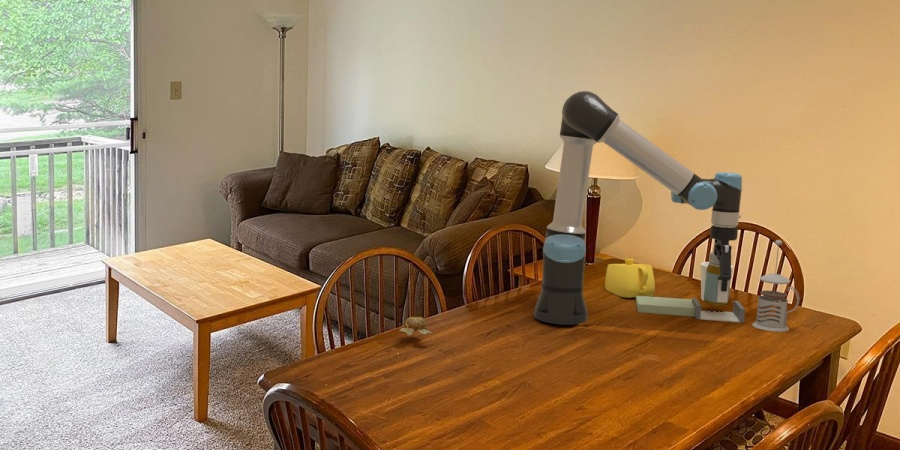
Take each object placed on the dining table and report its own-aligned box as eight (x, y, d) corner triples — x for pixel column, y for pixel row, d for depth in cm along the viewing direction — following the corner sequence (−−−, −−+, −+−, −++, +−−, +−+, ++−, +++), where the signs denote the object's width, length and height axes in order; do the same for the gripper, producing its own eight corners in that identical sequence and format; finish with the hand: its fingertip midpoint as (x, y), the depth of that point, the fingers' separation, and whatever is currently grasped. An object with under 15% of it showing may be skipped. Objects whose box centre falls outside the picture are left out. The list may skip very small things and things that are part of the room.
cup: (736, 306, 249) (740, 266, 247) (716, 309, 243) (720, 268, 241) (710, 299, 257) (713, 260, 255) (690, 302, 251) (693, 263, 249)
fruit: (400, 335, 200) (400, 320, 199) (398, 328, 208) (399, 314, 207) (432, 335, 200) (433, 320, 200) (430, 328, 209) (430, 314, 208)
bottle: (729, 307, 233) (734, 258, 230) (704, 305, 235) (709, 256, 231) (725, 300, 240) (731, 252, 237) (702, 298, 241) (706, 251, 238)
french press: (757, 320, 231) (765, 236, 228) (799, 327, 224) (808, 241, 221) (748, 327, 223) (756, 239, 220) (791, 334, 216) (800, 245, 213)
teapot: (594, 293, 262) (594, 257, 261) (625, 291, 266) (625, 256, 266) (630, 298, 243) (629, 260, 243) (663, 296, 248) (662, 259, 248)
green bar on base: (638, 314, 233) (639, 301, 232) (635, 303, 247) (636, 290, 246) (743, 322, 228) (745, 309, 227) (734, 310, 242) (735, 297, 242)
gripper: (746, 232, 217) (739, 307, 220) (730, 221, 242) (724, 289, 245) (718, 230, 219) (711, 305, 222) (704, 219, 243) (699, 287, 246)
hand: (718, 297), depth 233 cm, fingers open, 13 cm apart
